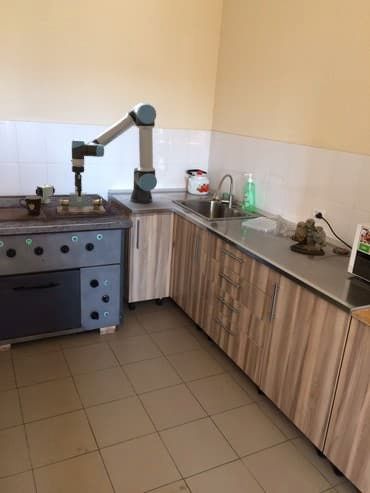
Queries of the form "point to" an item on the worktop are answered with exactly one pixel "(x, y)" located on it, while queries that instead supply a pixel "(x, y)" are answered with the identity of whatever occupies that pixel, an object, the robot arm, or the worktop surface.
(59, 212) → the base board
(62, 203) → the pipe rig
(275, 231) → the toy dinosaur
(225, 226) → the worktop surface
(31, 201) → the coffee mug
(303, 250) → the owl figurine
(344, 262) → the worktop surface
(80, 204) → the coupling block
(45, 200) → the pneumatic valve
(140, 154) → the robot arm
